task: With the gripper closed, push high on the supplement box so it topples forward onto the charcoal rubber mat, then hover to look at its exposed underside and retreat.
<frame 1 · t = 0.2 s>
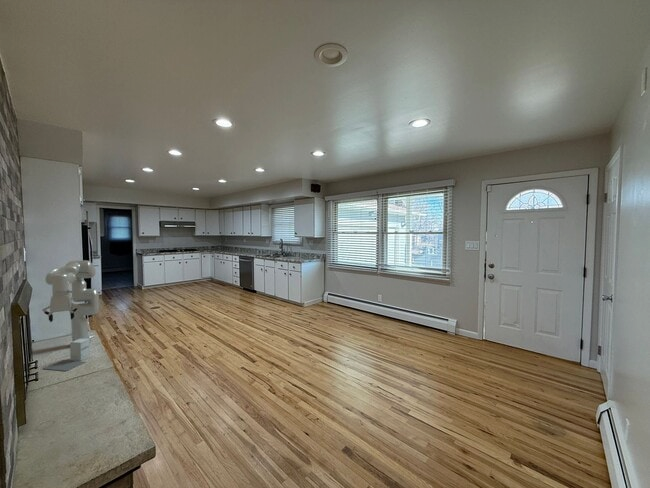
hand: (61, 320, 176), 31 cm above the hearth, tool pointing down, fingers open, 9 cm apart
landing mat: (64, 365, 180), on the hearth
supplement box: (80, 358, 190), on the hearth
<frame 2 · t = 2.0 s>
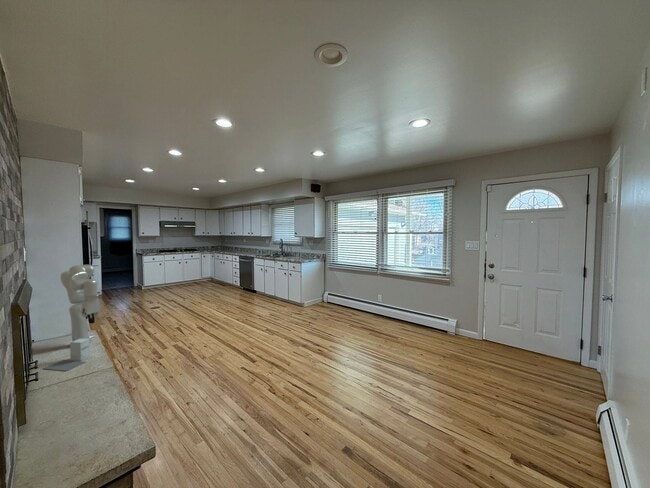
hand: (91, 322, 198), 22 cm above the hearth, tool pointing down, fingers closed
nothing on the hearth moved.
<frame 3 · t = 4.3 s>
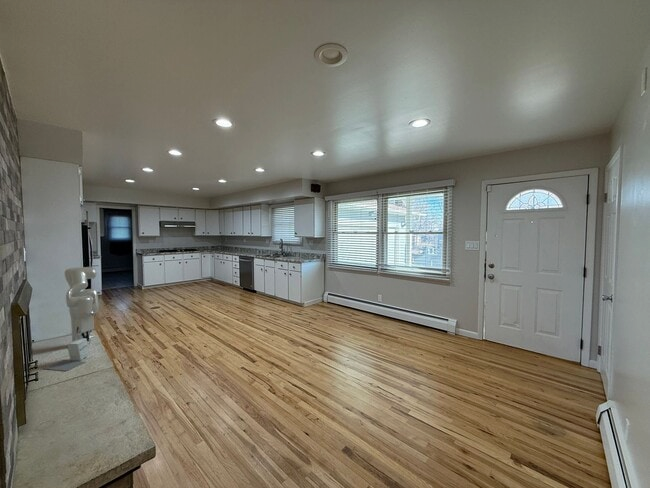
hand: (85, 341, 194), 11 cm above the hearth, tool pointing down, fingers closed
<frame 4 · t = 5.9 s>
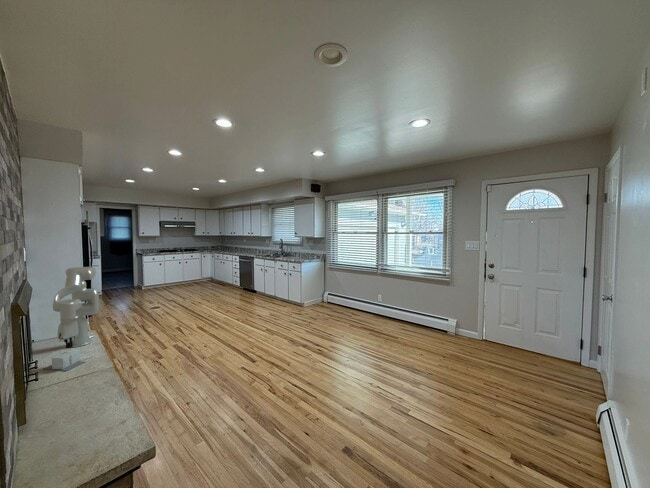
hand: (69, 347, 183), 10 cm above the hearth, tool pointing down, fingers closed
supplement box: (75, 354, 187), point 4 cm above the hearth, touching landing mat
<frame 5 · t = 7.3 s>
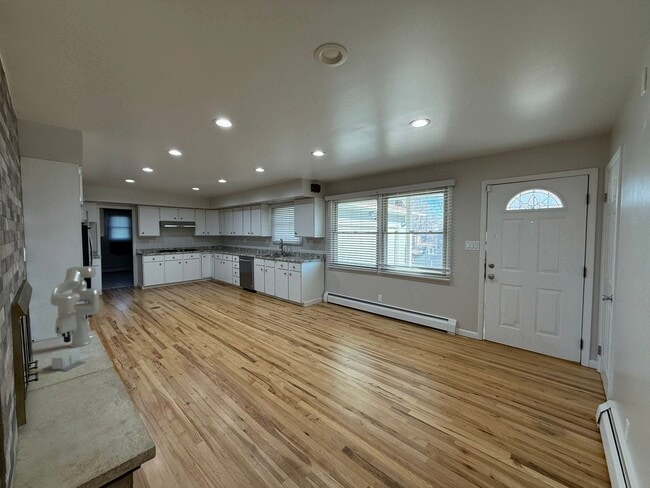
hand: (67, 341, 183), 14 cm above the hearth, tool pointing down, fingers closed
nothing on the hearth moved.
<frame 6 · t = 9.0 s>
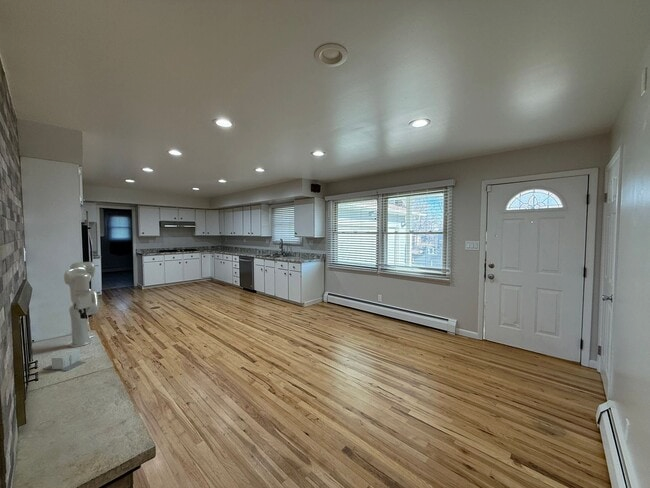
hand: (83, 318, 192), 27 cm above the hearth, tool pointing down, fingers closed
nothing on the hearth moved.
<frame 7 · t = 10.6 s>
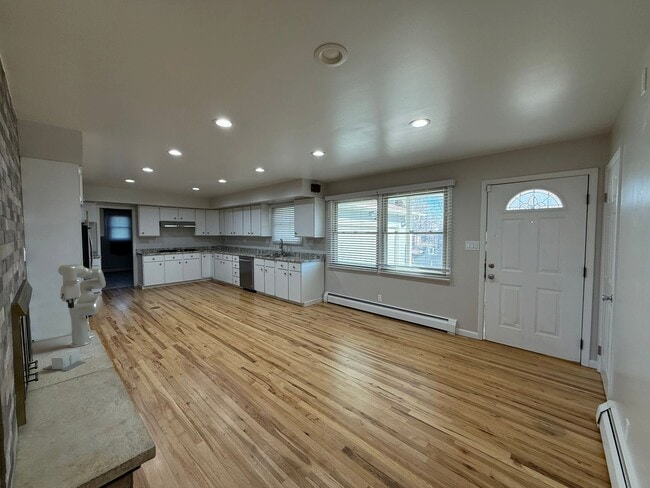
hand: (71, 307, 201), 32 cm above the hearth, tool pointing down, fingers closed
nothing on the hearth moved.
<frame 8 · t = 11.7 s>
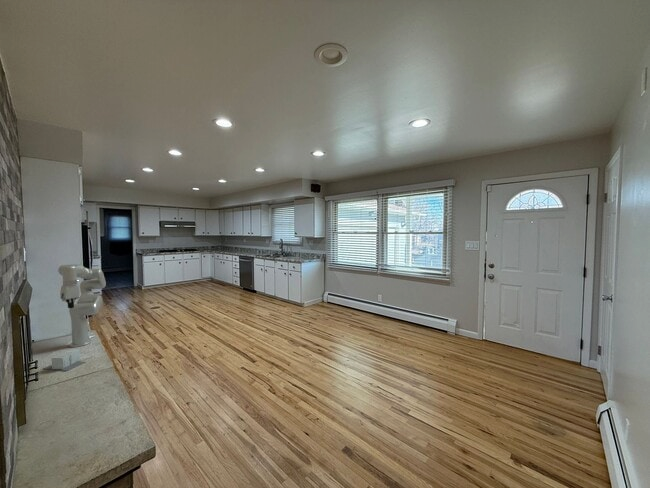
hand: (70, 307, 201), 32 cm above the hearth, tool pointing down, fingers closed
nothing on the hearth moved.
at the end: supplement box tilted 90°; supplement box touching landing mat; the gripper is holding nothing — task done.
